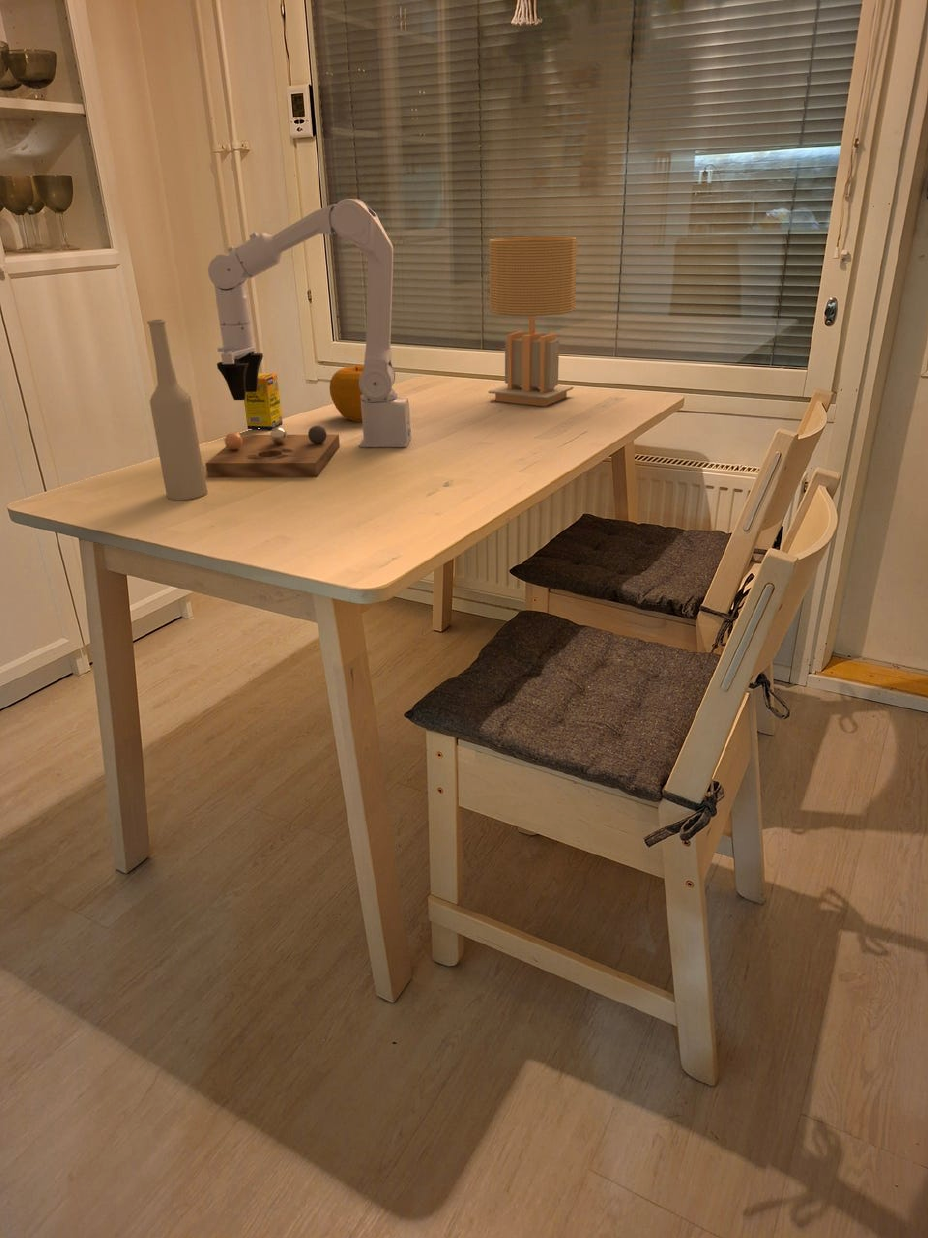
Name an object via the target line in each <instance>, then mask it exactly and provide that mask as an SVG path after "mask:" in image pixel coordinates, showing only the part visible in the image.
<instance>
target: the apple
mask: <svg viewBox="0 0 928 1238" xmlns="http://www.w3.org/2000/svg"><path fill="white" fill-rule="evenodd" d="M363 370H364V364H361V365H354V366H347V367H343V368H340V369H338V370H337V371H336V372H335V373H334V374H333V376H332V377H331V379H330V382H329V396H330V397H331V401H332V403H333V404H334V406H335V408H336V409H337V411H338V412H339V413H340V415H341V416H343V417H344V418H346V419H348V420H351V421H353V422H354V423H355V422H356V423H359V422H361V423H362V411H361V398H360V396H361V395H362V392H361V390H360V388H359V378H360V376H361V374H362V372H363Z"/></svg>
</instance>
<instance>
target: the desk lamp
mask: <svg viewBox="0 0 928 1238" xmlns="http://www.w3.org/2000/svg"><path fill="white" fill-rule="evenodd" d="M577 254H578V237H574V236H527V237H524V236H523V237H521V236H520V237H503V238H502V237H501V238H492V239H489V305H490V307H489V309H490V310H489V311H490V313H492V314H496V315H498V316H499V315H500V316H508V317H509V316H511V317H529V323H528V325H529V326H528V330H529V331H528V333H527V334H524V331H520V330H519V331H516V332H512V333H510V334H509V333H508V334H507V338H505V339H504V385H501V386H499V387H495V388H493V389H490V390H488V394H493V395H495V396H494V401H495V402H503V403H512V404H519V405H529V406H530V405H532V406H538V407H539V406H540V407H547V406H549V405H552V404H553V403H556V402H559V401H560V400H563V399H565V398H567V396H568V395H567V393H568V391H572V390H573V389H574V386H572V385H571V386H569V385H561V384H560V385H559V363H560V361H559V359H560V358H559V357H560V356H559V355H560V353H559V352H560V351H559V350H560V339H557V333H549V334H547V335H546V334H545V335H542V332H535V331H536V330H535V329H536V328H535V327H536V324H535V323H536V317H546V316H547V317H548V316H556V315H557V316H559V315H564V314H569V313H573V312H574V311H575V310H576V292H577V291H576V288H577V287H576V286H577V285H576V282H577V259H578V257H577Z"/></svg>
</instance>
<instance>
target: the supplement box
mask: <svg viewBox="0 0 928 1238" xmlns="http://www.w3.org/2000/svg"><path fill="white" fill-rule="evenodd" d="M279 389H280V388H279V379H278V373H260V372H259V373H258V386H257V391H256V392H246V396H245V400H243V403H244V411H245V416H246V417H245V419H246V424H247V430H263V431H264V430H266V431H267V430H268V431H272V429H274V428H276V427H279V426H280V425H283V415H282V413H283V412H282V404H281V399H280V397H281V396H280V390H279ZM258 428H260V429H258Z"/></svg>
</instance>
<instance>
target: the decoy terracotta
mask: <svg viewBox="0 0 928 1238" xmlns="http://www.w3.org/2000/svg"><path fill="white" fill-rule="evenodd" d="M240 435H241V434H239V433H237V432H229V433H228V434H227V435H226V436H225V438H224V444H225V447H226V446H227V447H228V448H229V449H231V450H237V449H239V448H240V447H241V446H242V442H243V441H242V438H241V436H240Z"/></svg>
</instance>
